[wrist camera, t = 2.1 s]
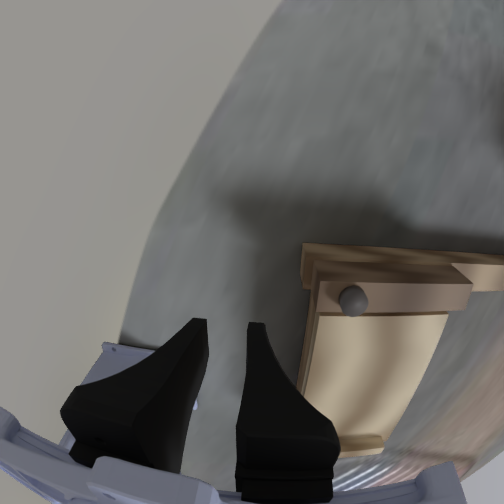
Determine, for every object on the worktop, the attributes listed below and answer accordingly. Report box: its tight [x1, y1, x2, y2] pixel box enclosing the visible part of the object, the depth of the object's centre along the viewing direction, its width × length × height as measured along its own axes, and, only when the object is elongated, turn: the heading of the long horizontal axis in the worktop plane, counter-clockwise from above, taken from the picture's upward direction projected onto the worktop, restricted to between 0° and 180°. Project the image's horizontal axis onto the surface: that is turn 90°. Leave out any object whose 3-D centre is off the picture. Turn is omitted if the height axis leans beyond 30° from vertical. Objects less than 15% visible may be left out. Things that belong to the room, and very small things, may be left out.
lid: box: [301, 311, 449, 458], centre depth 21 cm, size 10×16×3 cm, turn 179°
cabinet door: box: [311, 260, 474, 317], centre depth 17 cm, size 11×2×4 cm, turn 89°
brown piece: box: [296, 243, 504, 393], centre depth 23 cm, size 24×19×3 cm
